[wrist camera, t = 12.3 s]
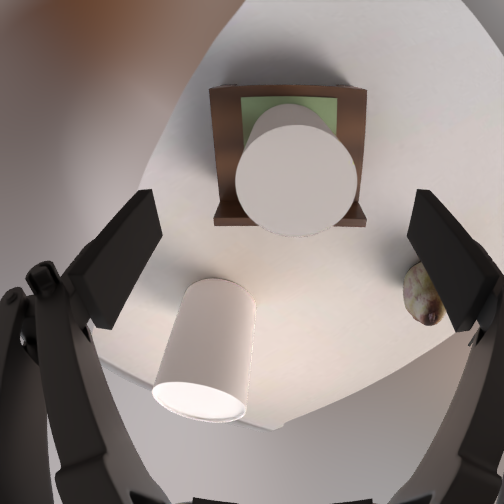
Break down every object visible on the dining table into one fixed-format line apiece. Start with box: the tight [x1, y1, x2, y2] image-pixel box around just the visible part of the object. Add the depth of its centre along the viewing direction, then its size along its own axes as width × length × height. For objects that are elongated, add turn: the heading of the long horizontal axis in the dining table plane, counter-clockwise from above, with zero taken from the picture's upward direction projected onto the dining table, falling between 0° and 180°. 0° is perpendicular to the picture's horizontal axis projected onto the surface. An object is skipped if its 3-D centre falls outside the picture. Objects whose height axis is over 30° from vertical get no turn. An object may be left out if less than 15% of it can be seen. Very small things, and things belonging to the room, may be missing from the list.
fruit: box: [403, 262, 446, 326], centre depth 40 cm, size 10×9×12 cm
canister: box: [152, 279, 256, 422], centre depth 45 cm, size 14×14×20 cm
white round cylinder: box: [235, 104, 357, 237], centre depth 24 cm, size 8×8×12 cm
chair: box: [209, 84, 367, 227], centre depth 30 cm, size 14×16×10 cm
